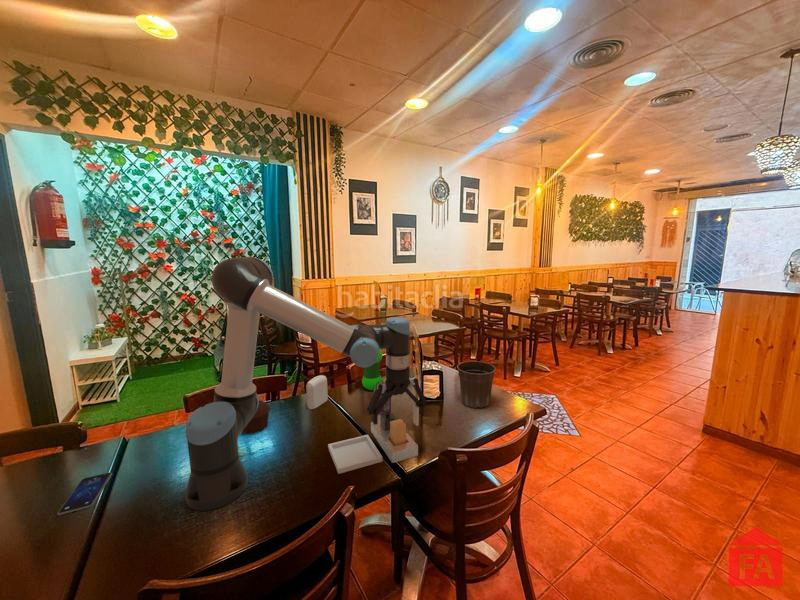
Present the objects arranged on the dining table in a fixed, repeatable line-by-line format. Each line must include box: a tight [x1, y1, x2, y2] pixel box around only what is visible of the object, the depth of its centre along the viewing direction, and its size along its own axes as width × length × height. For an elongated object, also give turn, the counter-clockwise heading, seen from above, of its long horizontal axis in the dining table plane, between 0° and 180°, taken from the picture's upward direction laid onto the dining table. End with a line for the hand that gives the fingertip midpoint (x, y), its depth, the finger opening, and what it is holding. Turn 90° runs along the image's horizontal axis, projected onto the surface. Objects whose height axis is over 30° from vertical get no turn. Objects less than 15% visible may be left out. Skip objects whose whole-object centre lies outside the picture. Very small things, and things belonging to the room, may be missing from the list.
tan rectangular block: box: [390, 418, 407, 446], centre depth 109 cm, size 4×4×10 cm
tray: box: [327, 434, 383, 475], centre depth 107 cm, size 14×14×2 cm
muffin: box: [242, 399, 271, 434], centre depth 124 cm, size 12×11×10 cm
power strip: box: [370, 409, 419, 464], centre depth 113 cm, size 9×20×10 cm, turn 24°
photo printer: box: [305, 374, 329, 410], centre depth 142 cm, size 10×4×12 cm, turn 152°
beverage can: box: [372, 387, 392, 420], centre depth 130 cm, size 7×7×12 cm
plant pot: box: [456, 360, 497, 409], centre depth 143 cm, size 16×16×16 cm
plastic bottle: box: [361, 349, 383, 391], centre depth 158 cm, size 10×10×25 cm
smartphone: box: [56, 471, 113, 517], centre depth 91 cm, size 7×1×15 cm
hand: (397, 428), depth 108 cm, fingers open, 13 cm apart
